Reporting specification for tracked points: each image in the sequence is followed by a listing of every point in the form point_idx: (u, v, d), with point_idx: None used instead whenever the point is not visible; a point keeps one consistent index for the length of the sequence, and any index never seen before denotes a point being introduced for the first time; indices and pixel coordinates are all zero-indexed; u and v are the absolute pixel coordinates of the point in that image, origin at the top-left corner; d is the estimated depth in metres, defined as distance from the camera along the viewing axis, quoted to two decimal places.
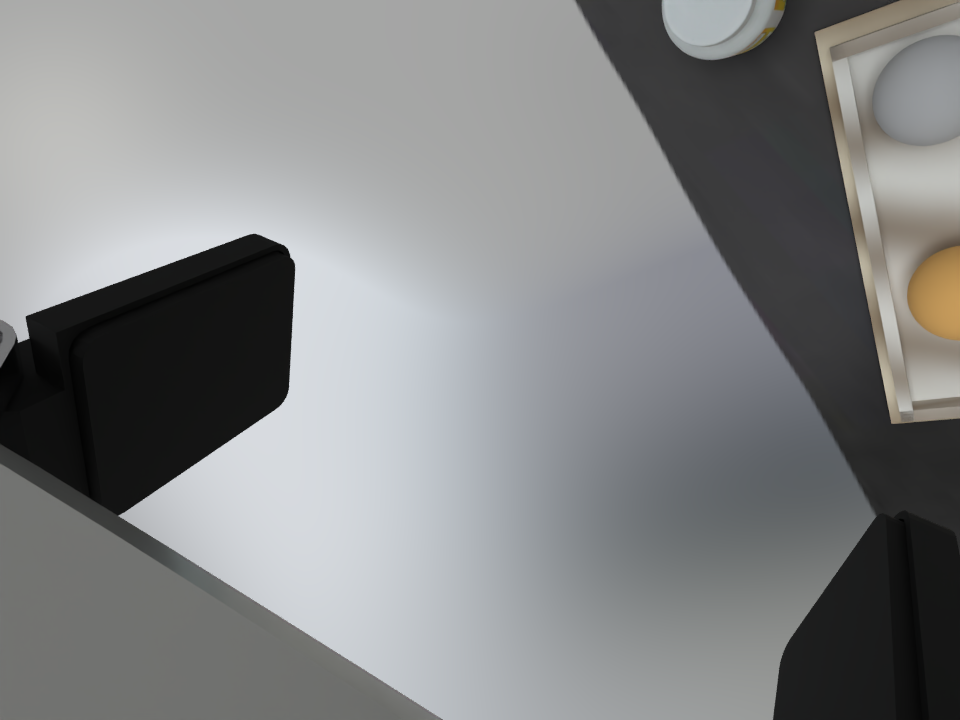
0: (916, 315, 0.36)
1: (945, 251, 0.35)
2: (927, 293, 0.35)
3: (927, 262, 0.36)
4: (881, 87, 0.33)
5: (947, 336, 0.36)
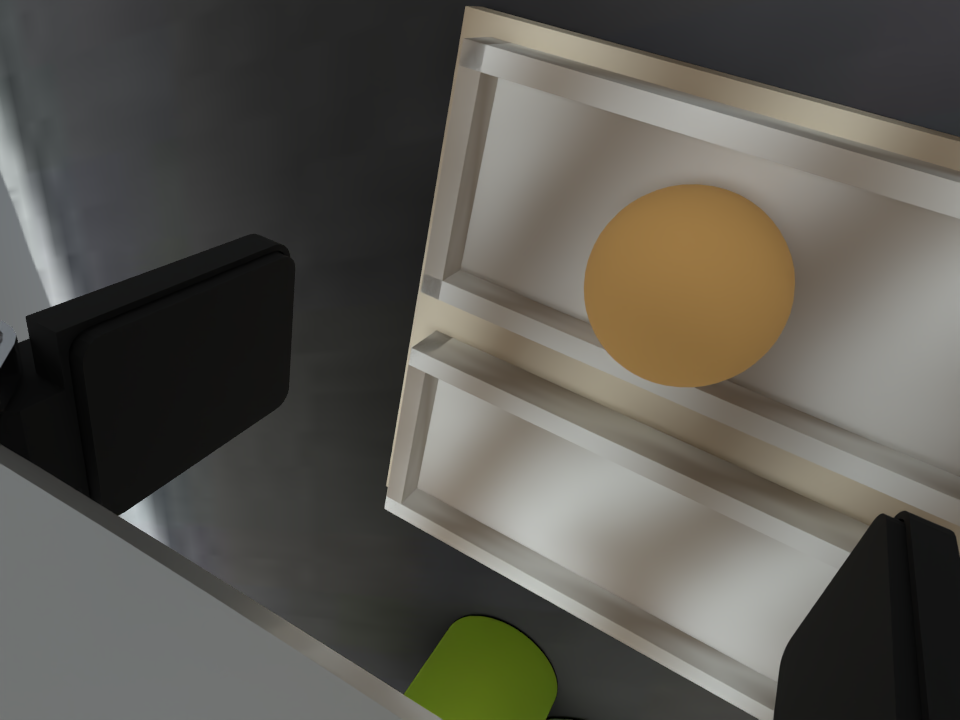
0: (690, 208, 0.15)
1: (791, 308, 0.16)
2: (735, 263, 0.15)
3: (791, 272, 0.16)
4: None
5: (616, 242, 0.16)
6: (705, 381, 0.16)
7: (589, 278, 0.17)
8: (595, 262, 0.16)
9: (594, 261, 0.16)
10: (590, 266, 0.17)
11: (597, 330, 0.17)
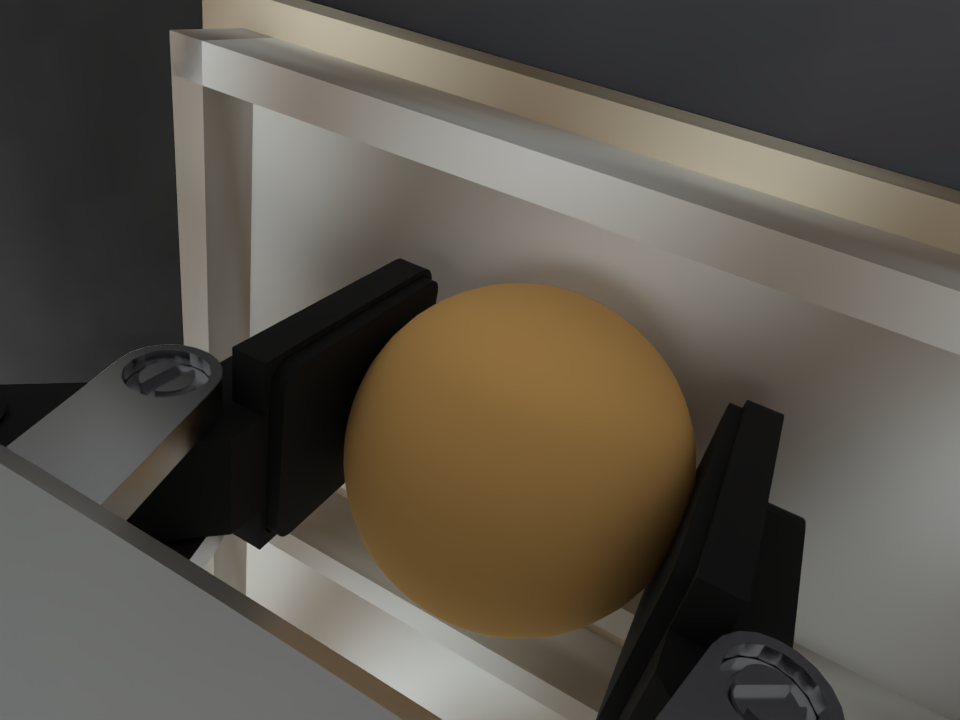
0: (489, 348, 0.08)
1: None
2: (562, 465, 0.08)
3: (683, 455, 0.09)
4: None
5: (369, 401, 0.09)
6: (540, 637, 0.09)
7: (344, 449, 0.10)
8: (348, 425, 0.09)
9: (348, 422, 0.09)
10: (346, 427, 0.10)
11: None
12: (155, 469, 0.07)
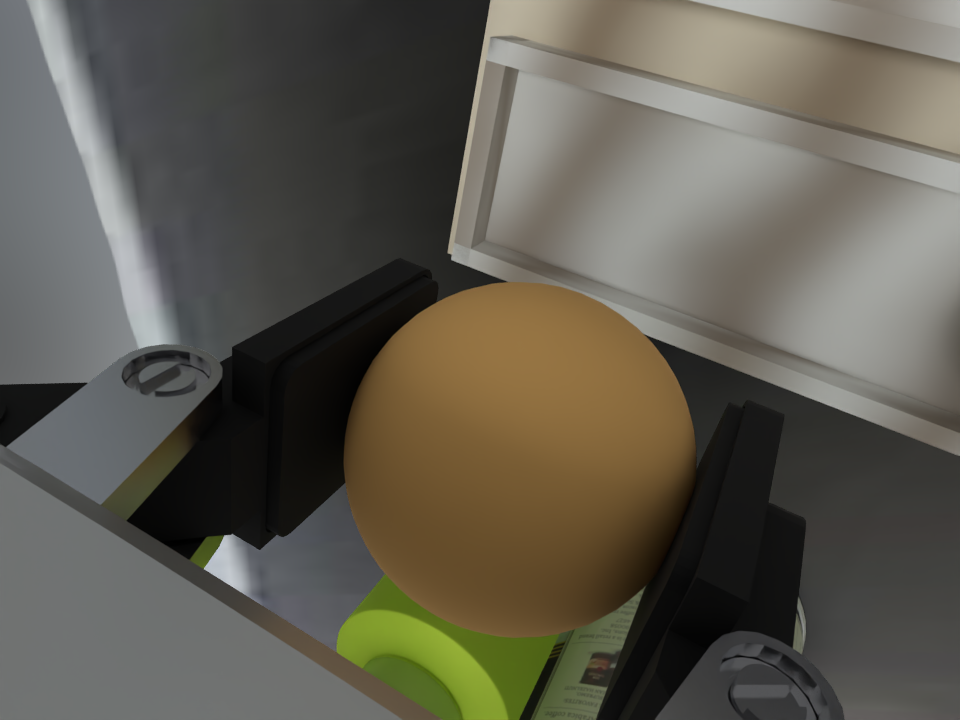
0: (490, 346, 0.08)
1: None
2: (562, 463, 0.08)
3: (683, 454, 0.09)
4: None
5: (369, 399, 0.09)
6: (540, 636, 0.09)
7: (344, 448, 0.10)
8: (348, 424, 0.09)
9: (348, 421, 0.09)
10: (347, 426, 0.10)
11: None
12: (155, 469, 0.07)
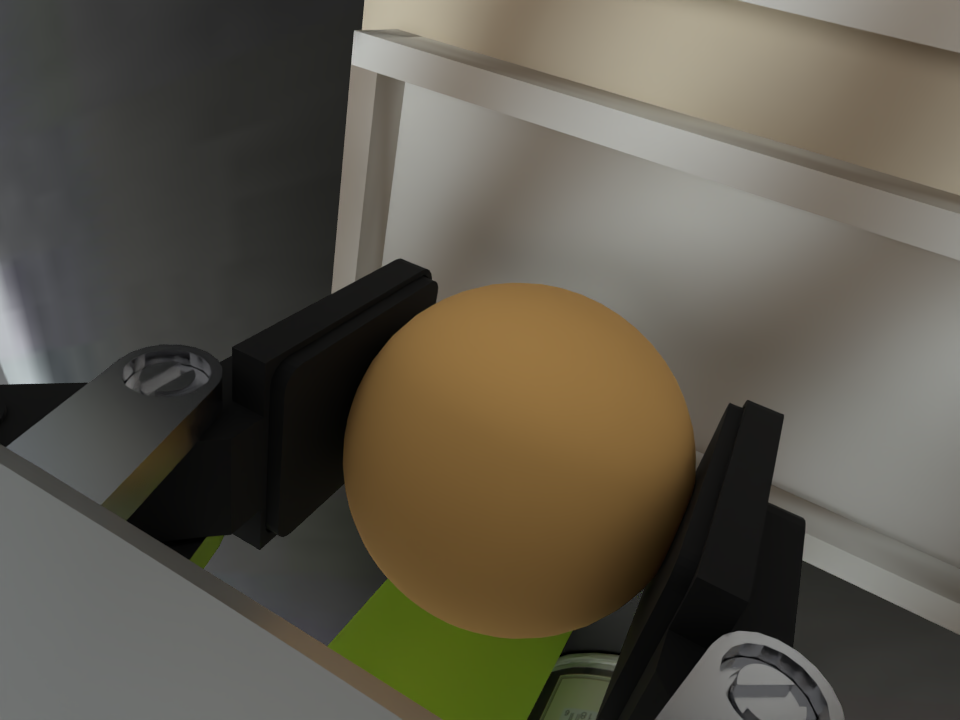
0: (489, 347, 0.08)
1: None
2: (562, 464, 0.08)
3: (683, 455, 0.09)
4: None
5: (368, 401, 0.09)
6: (540, 637, 0.09)
7: (343, 449, 0.10)
8: (347, 425, 0.09)
9: (347, 422, 0.09)
10: (346, 427, 0.10)
11: None
12: (155, 469, 0.07)
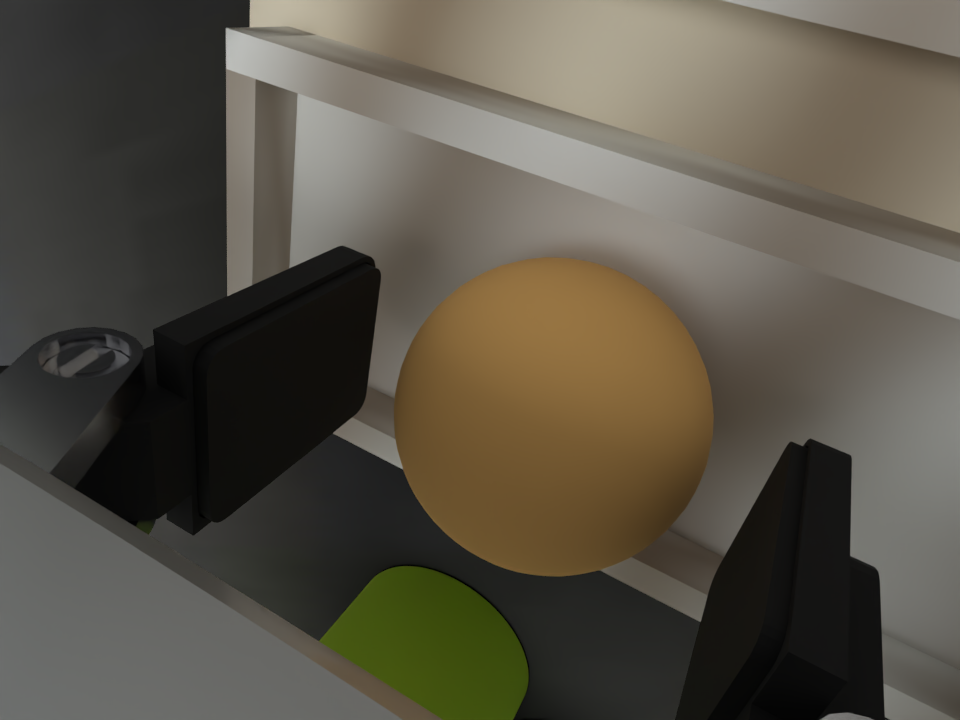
0: (531, 310, 0.09)
1: (707, 458, 0.10)
2: (598, 411, 0.09)
3: (703, 408, 0.10)
4: None
5: (421, 360, 0.10)
6: None
7: (394, 407, 0.11)
8: (399, 385, 0.10)
9: (399, 382, 0.10)
10: (396, 387, 0.11)
11: (410, 486, 0.11)
12: (89, 448, 0.07)
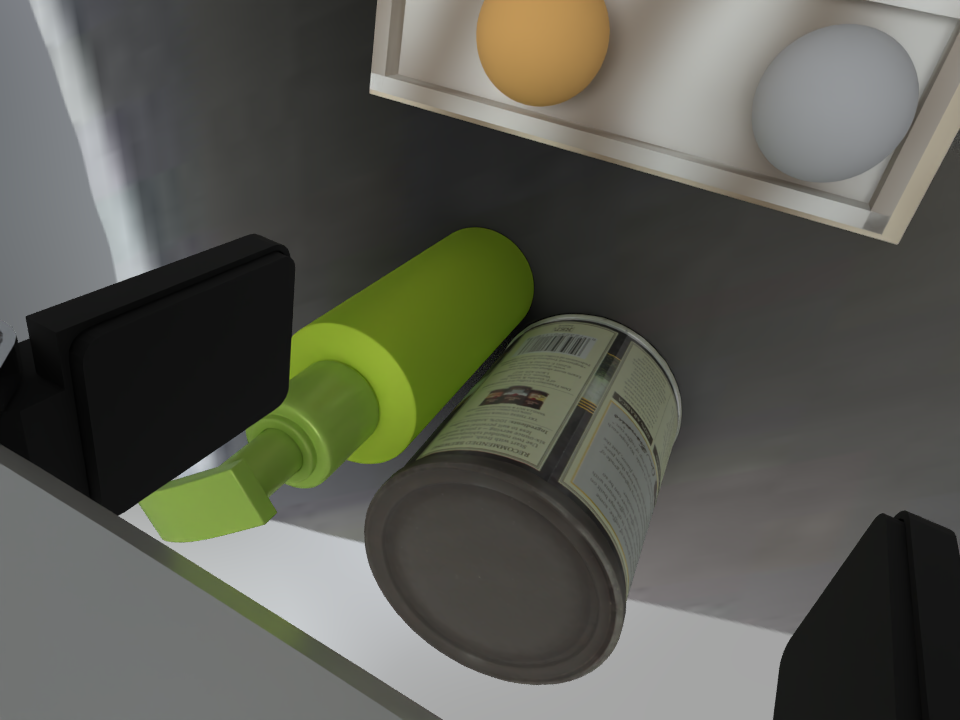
0: None
1: (606, 37, 0.25)
2: None
3: (602, 9, 0.24)
4: None
5: None
6: (553, 87, 0.25)
7: (477, 27, 0.25)
8: (480, 14, 0.25)
9: (479, 14, 0.25)
10: (478, 20, 0.25)
11: (484, 63, 0.25)
12: None
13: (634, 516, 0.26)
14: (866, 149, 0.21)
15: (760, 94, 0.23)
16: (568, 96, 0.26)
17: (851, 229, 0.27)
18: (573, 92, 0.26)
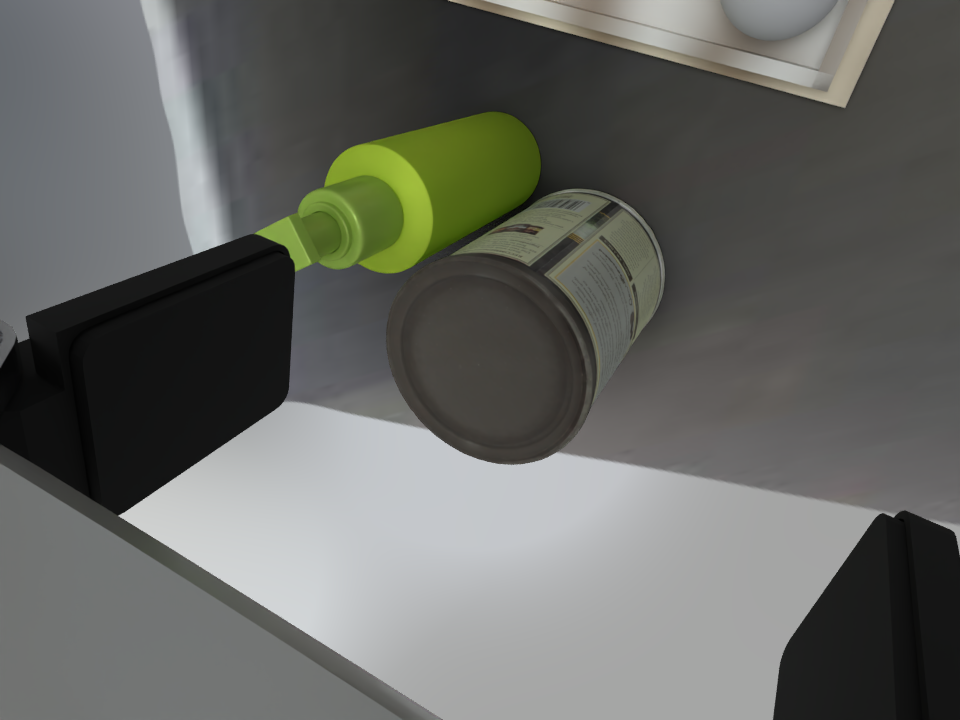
0: None
1: None
2: None
3: None
4: None
5: None
6: None
7: None
8: None
9: None
10: None
11: None
12: None
13: (608, 321, 0.31)
14: (804, 0, 0.27)
15: None
16: None
17: (806, 95, 0.32)
18: None
